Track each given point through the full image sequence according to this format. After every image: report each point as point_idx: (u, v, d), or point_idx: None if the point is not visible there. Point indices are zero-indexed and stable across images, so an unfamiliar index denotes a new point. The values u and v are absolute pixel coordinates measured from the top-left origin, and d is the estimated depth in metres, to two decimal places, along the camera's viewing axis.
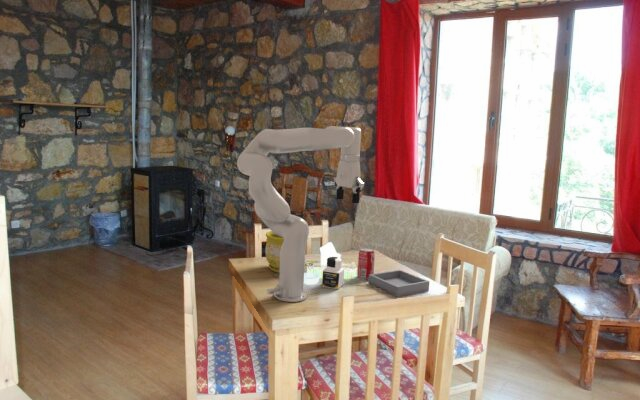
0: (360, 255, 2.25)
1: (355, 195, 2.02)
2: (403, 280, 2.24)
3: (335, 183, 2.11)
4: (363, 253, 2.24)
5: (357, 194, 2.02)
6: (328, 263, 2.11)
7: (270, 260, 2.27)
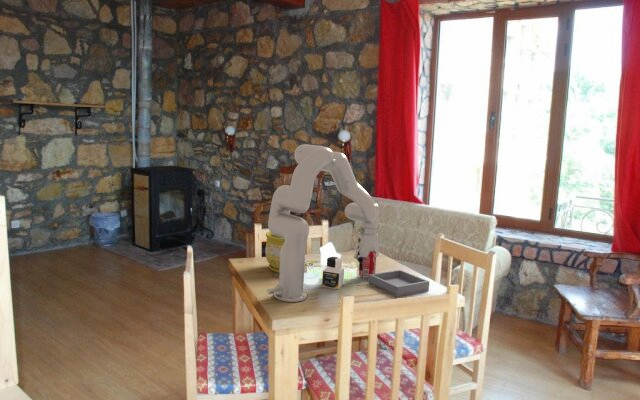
0: None
1: None
2: (403, 280, 2.24)
3: (360, 259, 2.24)
4: None
5: None
6: (328, 263, 2.11)
7: (270, 260, 2.27)
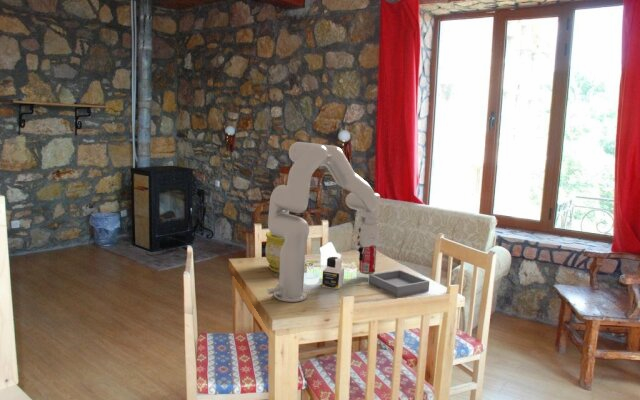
0: None
1: None
2: (403, 280, 2.24)
3: (360, 248, 2.23)
4: (366, 247, 2.23)
5: None
6: (328, 263, 2.11)
7: (270, 260, 2.27)
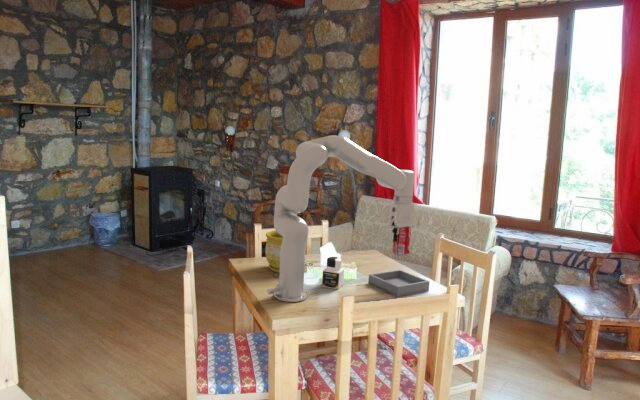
0: None
1: None
2: (403, 280, 2.24)
3: (395, 229, 2.12)
4: (401, 228, 2.13)
5: None
6: (328, 263, 2.11)
7: (270, 260, 2.27)
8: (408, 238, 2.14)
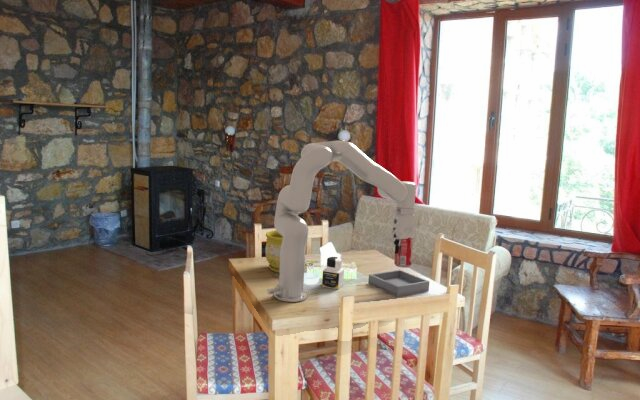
0: None
1: None
2: (403, 280, 2.24)
3: (396, 241, 2.12)
4: (403, 239, 2.13)
5: None
6: (328, 263, 2.11)
7: (270, 260, 2.27)
8: (410, 250, 2.14)
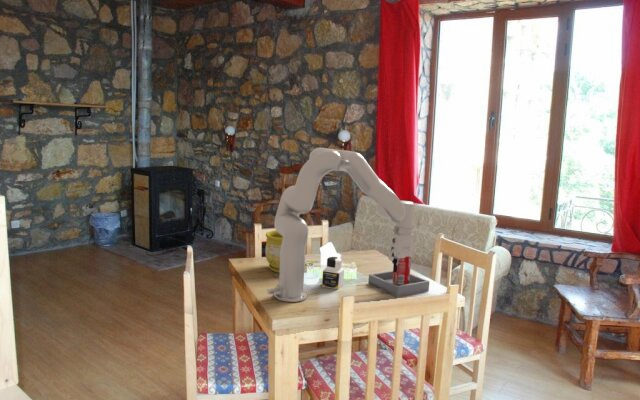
0: None
1: None
2: None
3: (395, 260, 2.13)
4: None
5: None
6: (328, 263, 2.11)
7: (270, 260, 2.27)
8: (408, 268, 2.15)
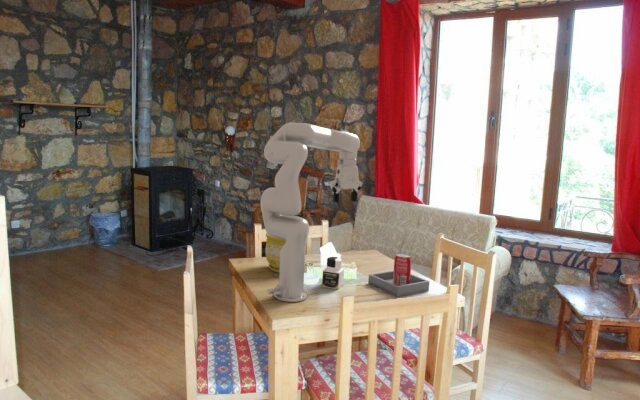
0: (399, 262, 2.14)
1: (356, 194, 2.27)
2: None
3: (334, 188, 2.19)
4: (403, 259, 2.13)
5: None
6: (328, 263, 2.11)
7: (270, 260, 2.27)
8: (409, 269, 2.15)
